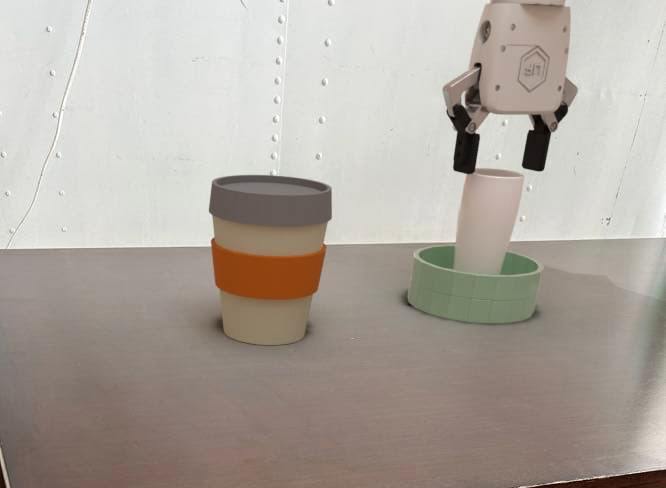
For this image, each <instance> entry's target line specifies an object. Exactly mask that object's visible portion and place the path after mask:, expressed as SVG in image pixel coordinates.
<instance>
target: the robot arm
mask: <svg viewBox="0 0 666 488" xmlns="http://www.w3.org/2000/svg"><path fill="white" fill-rule="evenodd" d="M565 4H566V0H489V3H485V4H484V7H483V9H482V12H481V14H480V15H481V16H480V18H479V22H478V25H477V28H476V32H475V36H474V40H473V43H472V44H473V45H472V48H471V53H470V58H469V63H468V68H467V70H466V71H464V72H463V73H461V74H460V75H458V76H457V77H455V78H454V79H452V80H450V81H449V82H447V83H446V84H444V85H443V87H442V95H443V99H444V104H445V107H446V110H445V111H446V116H447V117H448V118H449V120H450V122H451V123H452V129H453V131H454V132H456V138H455V145H454V152H453V165H452V170H453V171H454V172H457V173H460V174H464V175H465V174H473V173H474V172H475V168H477V167H476V166H477V160H478V155H479V154H478V153H479V148H480V140H481V134H480V133H478V132H477V130H478V129H479V128H480V127H481V125H482V124H483V123H484V121H485V120H486V119H487V118H488V116H489V115H490V113H491V114H493V115H500V116H501V115H506V116H508V115H511V116H513V115H514V116H515V115H517V116H519V115H520V116H521V115H522V116H523V115H528V118H529V121H530V123H531V125H532V128H533V129H528V132H527V133H526V139H525V146H524V150H523V156H522V161H521V167H522V168H523V170H524V169H525V170H529V171H534V172H538V173H539V172H544V170H545V167H546V163H547V157H548V152H549V147H550V142H551V141H550V140H551V137H552V133H553V134H554V133H555V132H556V131H557V130H558V128H559V124H560V123H561V122H562V121H563V119H564V118H565V117H566V116H567V115H568V112H569V108H570V106H571V105H572V103H573V102H574V100H575V98H576V97H577V94H578V91H579V90H578V89H579V88H578V87H577V85H576V84H574V82H572V81H571V80H570V79H569V78H568V77H566V74H567V69H568V61H569V53H570V41H571V6H565ZM463 93H464V105H465V106H464V105H463V104H462V102H463V101H462V95H463ZM476 132H477V133H476Z"/></svg>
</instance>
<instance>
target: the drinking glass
mask: <svg viewBox="0 0 666 488" xmlns="http://www.w3.org/2000/svg"><path fill="white" fill-rule="evenodd" d="M524 181H525V175H524V174H523V173H521V172H518V171H513V170H508V169H500V168H489V167H487V168H486V167H475V172H474V173H473V174H465V173H464V176H463V180H462V183H461V184H462V185H461V188H460V189H461V190H460V195H459V201H458V209H457V219H456V231H455V240H454V241H455V243H454V245H455V253H454V264H453V270H455V271H461V272H468V273H475V274H487V275H500V273H501V270H502V266H503V263H504V259H505V256H506V252H507V251H508V248H509V245H510V242H511V238H512V235H513V231H514V228H515V224H516V220H517V217H518V212H519V210H520V209H519V208H520V204H521V200H522V194H523V188H524Z"/></svg>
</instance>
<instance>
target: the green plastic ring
mask: <svg viewBox="0 0 666 488" xmlns="http://www.w3.org/2000/svg"><path fill="white" fill-rule="evenodd" d="M454 253H455V244H439V245H437V244H436V245H429V246H425V247H422V248H418V249H417V250H415V251H414V252H413V255H412V262H411V269H410V276H409V282H408V290H407V302H408V303H409V304H410V305H411V306H412V307H413V308H415V309H417V310H419V311H422V312H424V313H426V314H429V315H431V316H432V315H433V316H436V317H440V318H443V319H448V320H454V321H459V322H464V323H475V324H511V323H517V322H523V321H525V320H527V319H530V318H532V317H533V314H534V313H535V310H536V304H537V301H538V296H539V291H540V288H541V283H542V280H543V275H544V270H545V266H544V265H543V263H542V262H541V261H539V260H537V259H535V258H533V257H531V256H528V255H525V254H522V253H519V252H515V251H510V250H507V252H506V256H505V259H504V263H503V266H502V270H501V273H500V275H487V274H475V273H468V272H461V271H455V270H453V264H454Z"/></svg>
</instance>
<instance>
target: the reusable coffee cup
mask: <svg viewBox="0 0 666 488" xmlns="http://www.w3.org/2000/svg"><path fill="white" fill-rule="evenodd" d="M332 189H333V188H332V187H331V186H330V185H329V184H328V183H325V182H321V181H317V180H313V179H310V178H309V179H308V178H304V177H303V178H302V177H294V176H285V175H273V174H271V175H270V174H237V175H236V174H235V175H225V176H220V177H217V178H214V179H213V180H211V187H210V196H209V205H208V213H209V214H210V215H211V216H212V226H213V237H212V238H211V240H210V245H211V246H210V247H211V256H212V265H213V275H214V277H213V278H214V284H215V286H216V287H217V289H219V297H220V304H221V305H220V306H221V307H220V308H221V314H222V315H221V317H222V328H223V334H225V335H226V336H228V338H230V339H232V340H235V341H238V342H241V343H244V344H245V343H246V344H251V345H258V346H281V345H289V344H293V343H296V342H299V341H300V340H303V338H305V335H306V330H307V325H308V321H309V316H310V311H311V305H312V300H313V296H314V294H316V293H317V292H318V290H319V286H320V282H321V277H322V271H323V268H324V261H325V257H326V253H327V248H328V246H327V245H326V244H325V237H326V234H327V228H328V223H329V222H330V221H331V220H332V219H333V218H332V217H333V201H332V200H333V199H332V193H333V192H332Z"/></svg>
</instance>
